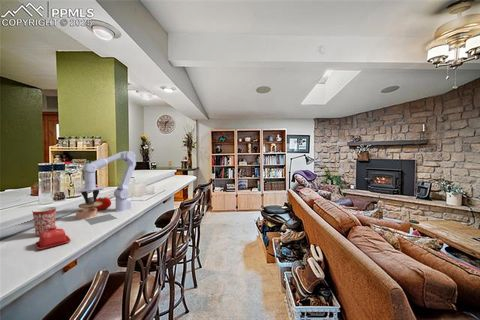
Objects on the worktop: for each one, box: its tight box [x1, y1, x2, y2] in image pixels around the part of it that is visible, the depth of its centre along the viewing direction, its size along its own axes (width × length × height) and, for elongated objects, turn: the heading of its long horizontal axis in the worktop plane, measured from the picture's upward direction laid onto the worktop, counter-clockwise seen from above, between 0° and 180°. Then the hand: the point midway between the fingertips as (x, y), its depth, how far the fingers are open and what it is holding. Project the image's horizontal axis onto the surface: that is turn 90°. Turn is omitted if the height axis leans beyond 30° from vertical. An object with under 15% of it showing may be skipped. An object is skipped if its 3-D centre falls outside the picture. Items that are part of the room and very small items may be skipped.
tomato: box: [95, 196, 112, 211], centre depth 150 cm, size 14×13×9 cm
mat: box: [83, 213, 118, 226], centre depth 127 cm, size 14×14×1 cm
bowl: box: [75, 208, 98, 220], centre depth 133 cm, size 11×11×4 cm
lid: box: [78, 196, 102, 209], centre depth 131 cm, size 12×12×6 cm
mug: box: [32, 206, 57, 238], centre depth 107 cm, size 13×9×14 cm
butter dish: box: [35, 225, 72, 250], centre depth 95 cm, size 12×12×8 cm
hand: (90, 202), depth 131 cm, fingers closed on lid, 4 cm apart
